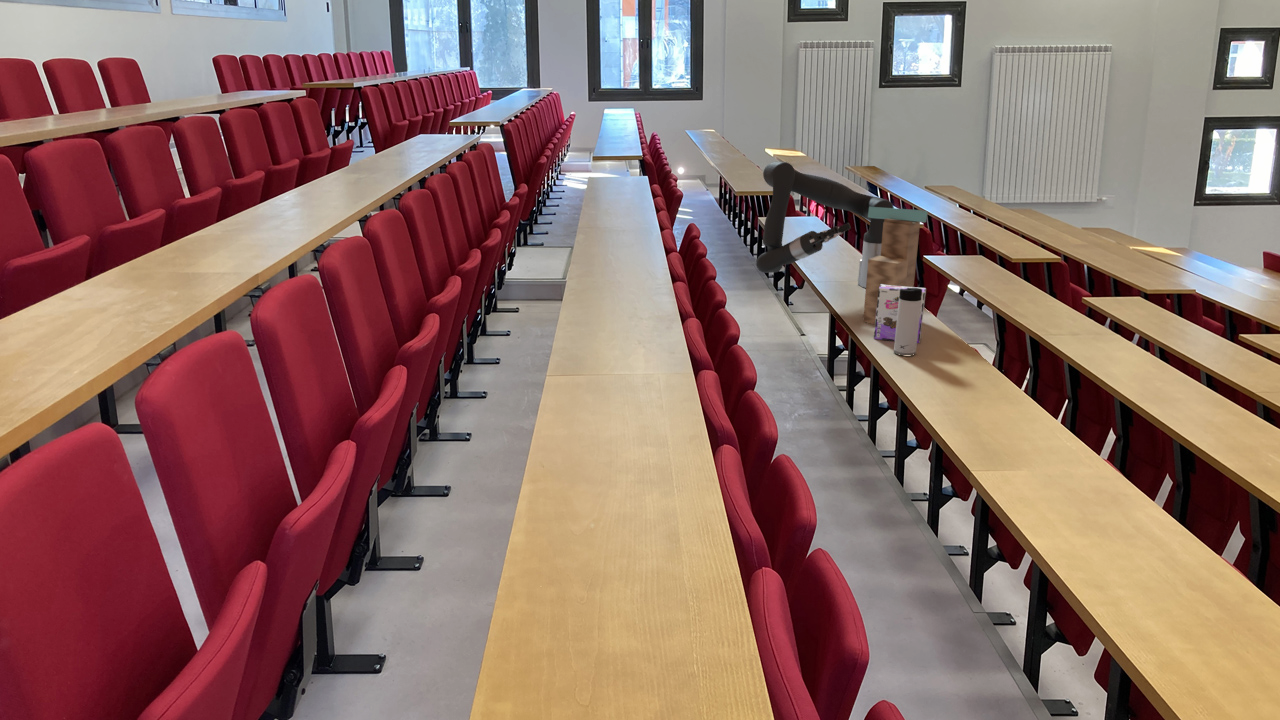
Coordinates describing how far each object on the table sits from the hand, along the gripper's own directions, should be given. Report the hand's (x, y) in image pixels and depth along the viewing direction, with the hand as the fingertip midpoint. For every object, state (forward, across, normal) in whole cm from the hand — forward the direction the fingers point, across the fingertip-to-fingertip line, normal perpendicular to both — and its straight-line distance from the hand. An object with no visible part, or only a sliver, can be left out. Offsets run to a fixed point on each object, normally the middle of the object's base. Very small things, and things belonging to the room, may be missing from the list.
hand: (843, 227), depth 309 cm
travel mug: (+21, -35, +44) cm, 60 cm away
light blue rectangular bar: (+18, 0, +5) cm, 19 cm away
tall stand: (+4, 0, +34) cm, 35 cm away
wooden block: (+4, -8, +34) cm, 36 cm away
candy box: (+14, -23, +40) cm, 48 cm away
